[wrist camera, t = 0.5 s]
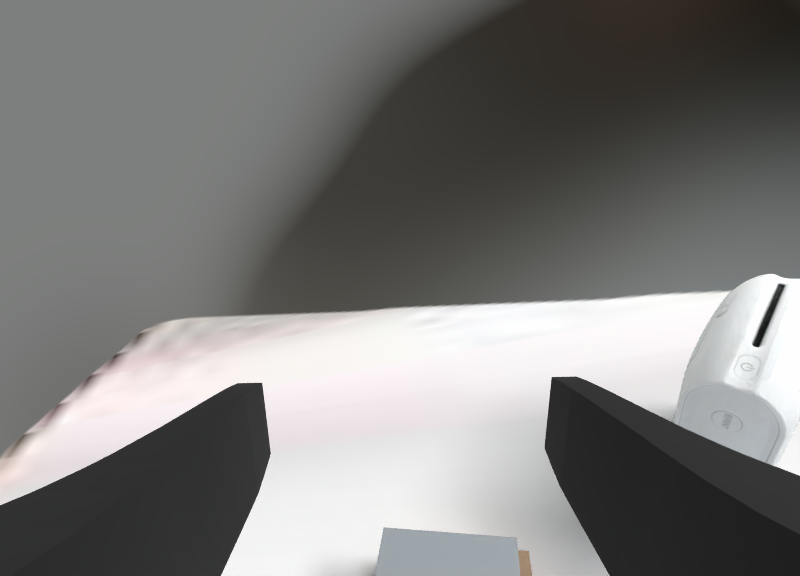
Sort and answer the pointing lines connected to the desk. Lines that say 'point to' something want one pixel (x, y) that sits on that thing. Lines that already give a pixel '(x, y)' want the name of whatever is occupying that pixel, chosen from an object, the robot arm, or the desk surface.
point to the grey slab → (446, 554)
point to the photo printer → (747, 371)
